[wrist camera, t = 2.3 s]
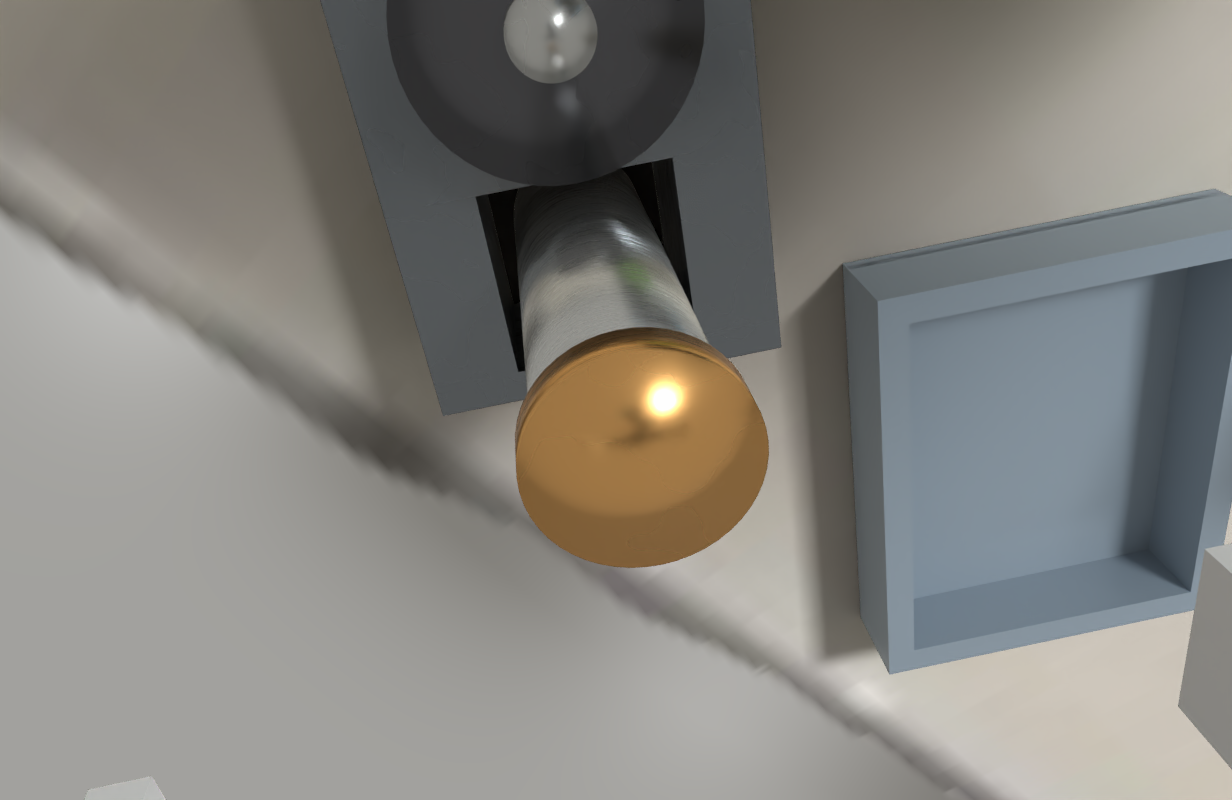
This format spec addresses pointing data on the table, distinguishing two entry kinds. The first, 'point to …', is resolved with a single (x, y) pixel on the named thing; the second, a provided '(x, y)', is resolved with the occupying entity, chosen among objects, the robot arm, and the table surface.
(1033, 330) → the parts tray
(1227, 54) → the table surface
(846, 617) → the table surface
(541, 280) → the glass jar with lid
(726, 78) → the grey boxy piece
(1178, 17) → the table surface
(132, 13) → the table surface
